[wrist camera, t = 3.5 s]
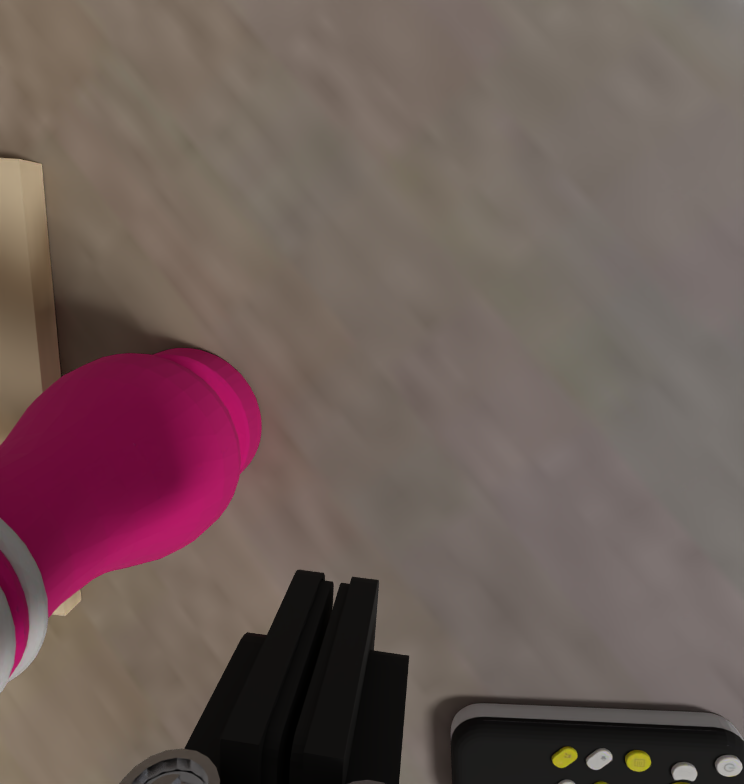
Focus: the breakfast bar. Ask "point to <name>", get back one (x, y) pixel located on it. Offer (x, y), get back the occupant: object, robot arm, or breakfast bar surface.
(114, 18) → the breakfast bar surface
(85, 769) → the breakfast bar surface
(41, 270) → the cutting board
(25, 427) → the pepper mill
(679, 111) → the breakfast bar surface
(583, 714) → the remote control
